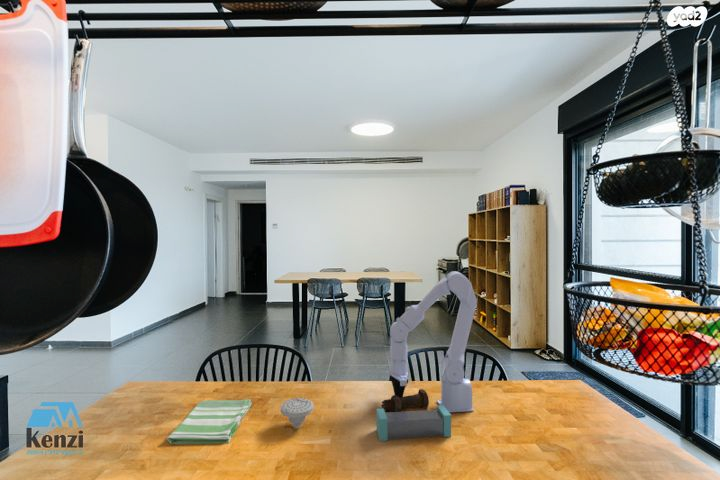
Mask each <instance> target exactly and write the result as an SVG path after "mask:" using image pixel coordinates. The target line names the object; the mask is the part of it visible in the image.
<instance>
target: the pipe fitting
mask: <svg viewBox="0 0 720 480" xmlns="http://www.w3.org/2000/svg"><path fill="white" fill-rule="evenodd" d="M376 431H377V435H378V439H379V441H380V442H387V441H389V440H390V441H391V440H403V439H404V440H405V439H419V438H422V439H423V438H436V437H443V438H451V437H452V414H451V412H448V410H447V409H446V408H445V406H444V405H439V404H437V405H436V409H429V410H428V409H427V410H425V409H424V410H411V411H409V410H408V411H406V410H405V411H398V412H395V411H393V412H392V411H389V412H386V411H384V409H383V408H376Z"/></svg>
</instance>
